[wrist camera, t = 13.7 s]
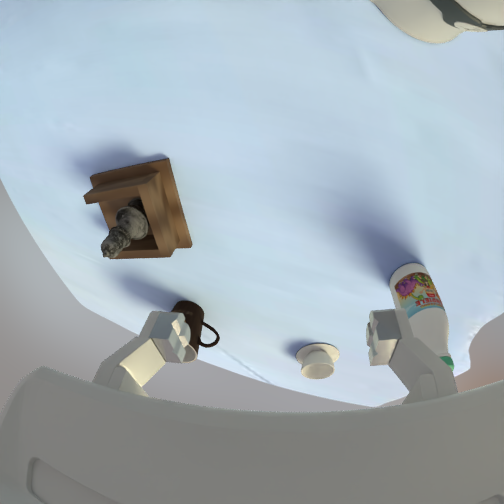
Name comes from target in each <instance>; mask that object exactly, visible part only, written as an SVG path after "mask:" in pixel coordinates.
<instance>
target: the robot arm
mask: <svg viewBox="0 0 504 504" xmlns="http://www.w3.org/2000/svg"><path fill="white" fill-rule="evenodd" d="M370 1H371V2H373V3H374V4H375V5H376V6H377V7H378V8H379V9H380V10H381V11H382V13H383V14H384V15H385V16H386V17H387V18H388V19H389V20H390V21H391V22H392V23H393V24H394V25H395V26H396V27H398V28H399V29H400V30H402V31H403V32H405V33H407V34H408V35H410V36H412V37H414V38H416V39H419V40H421V41H425V42H429V43H445V42H448V41H451V40H453V39H454V38H456V37H457V36H458V35H459V34H461V33H463V32H465V31H469V32H487V31H491V30H504V0H370ZM369 319H370V322H369V323H368V324H367V329H366V340H367V345H368V346H369V347H370V349H369V353H368V354H369V360H370V366H375V365H389V367H390V368H391V369H392V370H393V371H394V373H395V374H396V375H397V376H398V378H399V379H400V380H401V381H402V383H403V384H404V385H405V386H406V388H407V389H408V390H409V394H408V395H407V397H406V398H405V400H404V401H403V403H402V405H395V406H388V407H380V408H371V409H361V410H350V411H349V410H348V411H331V412H265V411H248V410H234V409H224V408H215V407H206V406H199V405H192V404H185V403H179V402H173V401H167V400H162V399H157V398H152V397H148V395H147V393H146V392H145V391H144V390H143V389H142V386H143V385H144V384H145V383H146V382H147V381H148V380H149V379H150V378H151V377H152V376H153V375H154V374H155V373H156V372H157V371H158V370H159V369H160V368H161V367H162V366H163V365H164V364H165V363H166V362H173V363H182V362H183V359H184V356H185V353H186V351H185V349H184V347H186V346H187V345H188V344H189V341H190V334H191V333H190V328H189V325H188V324H187V323H185V322H184V320H185V317H184V315H183V313H175V312H163V311H162V312H161V311H152V312H151V313H150V314H149V316H148V318H147V320H146V322H145V325H144V327H143V329H142V331H141V333H140V335H139V337H135V338H134V339H132V340H131V341H130V342H128V343H127V344H126V345H124V346H123V347H122V348H120V349H119V350H117V351H116V352H115V353H114V354H112V355H111V356H109V357H108V358H107V359H105V360H104V361H103V362H102V363H101V365H100V367H99V369H98V371H97V373H96V375H95V377H94V379H93V381H92V382H89V381H85V380H83V379H79V378H77V377H74V376H71V375H68V374H64V373H62V372H59V371H56V370H54V369H51V368H49V367H45V366H42V367H39V368H37V369H36V370H34V371H32V372H31V373H29V374H28V375H26V376H25V377H24V378H22V379H21V380H20V381H19V382H18V384H17V385H16V387H15V388H14V390H13V391H12V393H11V395H10V396H9V398H8V400H7V402H6V404H5V405H4V407H3V409H2V411H1V413H0V504H504V380H501V381H498V382H495V383H492V384H489V385H486V386H482V387H479V388H476V389H472V390H468V391H465V392H461V393H458V391H457V387H456V383H455V379H454V375H453V372H452V369H451V368H450V367H449V366H448V365H447V364H446V363H445V362H444V361H443V360H442V359H441V358H440V357H438V356H437V355H436V354H435V353H434V352H433V351H432V350H431V349H430V348H428V347H427V346H426V345H425V344H424V343H423V342H422V341H421V340H420V339H418V338H417V337H415V338H414V335H413V332H412V329H411V325H410V322H409V319H408V316H407V313H406V310H405V309H404V308H399V309H386V310H374V311H371V312H370V315H369Z"/></svg>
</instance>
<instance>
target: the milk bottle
mask: <svg viewBox="0 0 504 504" xmlns="http://www.w3.org/2000/svg"><path fill="white" fill-rule="evenodd" d="M389 286H390V290H391V294H392V297H393V300H394V304H395V307H396V309H399V308H404V309H405V310H406V313H407V316H408V319H409V322H410V325H411V329H412V332H413V335H414V338H415V337H417V338H418V339H420V340H421V341H422V342H423V343H424V344H425V345H426V346H427V347H428V348H430V349H431V350H432V351H433V352H434V353H435V354H436V355H437V356H438V357H440V358H441V359H442V360H443V361H444V362H445V363H446V364H447V365H448V366H449V367H450V368H451V369H452V371H453V369H454V364H453V361H452V358H451V355H450V354H449V353H448V335H449V323H448V318H447V315H446V312H445V309H444V307H443V304H442V302H441V300H440V297H439V295H438V293H437V290H436V288H435V286H434V284H433V282H432V279H431V277H430V275H429V273H428V271H427V270H426V268H425V267H424V266H422V265H420V264H417V263H409V264H406V265H403V266H401V267H400V268H398V269H397V270H396V271H395V272H394V274H393V275H392V277H391V279H390V284H389Z"/></svg>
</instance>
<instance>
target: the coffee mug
mask: <svg viewBox="0 0 504 504" xmlns="http://www.w3.org/2000/svg"><path fill="white" fill-rule="evenodd" d="M171 312H175V313H183V315H184V317H185V320H184V322H185V323H187V324H188V325H189V328H190V333H191V334H190V341H189V344H188V345H187V346H186V347H184V349H185V351H186V353H185V356H184V359H183V362H182V363H190V362H193V361H195V360H196V359H197V355H198V349H199V345H201V346H203V347H206V348H207V347H212V346H215V345H216V344H217V343H218V341H219V339H220V337H219V334H218V333H217V331H216V330H215V329H214V328H213V327H211V326H210V325H208V324H206V323H205V322H203V319H204V311H203V310H202V308H201V307H200V306H199V305H197V304H195V303H193V302H191V301H179V302H177V303H176V305H175V306H174V308H173V309H172V311H171ZM202 325H204V326H205V327H207V328H209V329H210V330H212V331H213V332H214V333H215V334H216V336H217V338H216V340H215V341H214V342H213V343H211V344H204V343H202V342H201V339H200V337H201V331H202Z"/></svg>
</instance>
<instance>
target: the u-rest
mask: <svg viewBox="0 0 504 504" xmlns="http://www.w3.org/2000/svg"><path fill="white" fill-rule="evenodd" d="M90 180H91V183H92V186H93V189H91V190H90V191H89V192H88V193H86V194H85V195H84V196H83V197H84V199H85V202H86V205H87V204H92V203H97V202H99V205H100V208H101V210H102V213H103V215H104V218H105V221H106V223H107V226H108V228H109V230H110V229H111V228H112V227H116V226H117V225H116V221H115V216H116V213H117V211H118V210H119V209H120V208H121V207H124V206H128V203H129V202H130V201H131V200H132V199H134V198H141V200H142V203H143V206H144V209H145V212H146V215H147V218H148V221H149V224H150V226H149V227H148V233H147V234H146V236H145V237H144V238H142V239H139V240H134V239H131V240H130V244H129V246H128V247H125V248H123V249H122V251H121V252H120V253H119V254H118V256H116V257H115V258H110V259H131V258H163V257H171V255H172V254H173V252H174V250H175V249H176V248H191V246H192V241H191V238H190V234H189V231H188V227H187V224H186V220H185V217H184V213H183V210H182V206H181V202H180V199H179V195H178V191H177V188H176V184H175V180H174V176H173V172H172V168H171V164H170V160H169V158H168V159H163V160H157V161H152V162H147V163H142V164H137V165H133V166H128V167H124V168H119V169H115V170H111V171H107V172H102V173H98V174H95V175H92V176H91V177H90Z"/></svg>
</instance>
